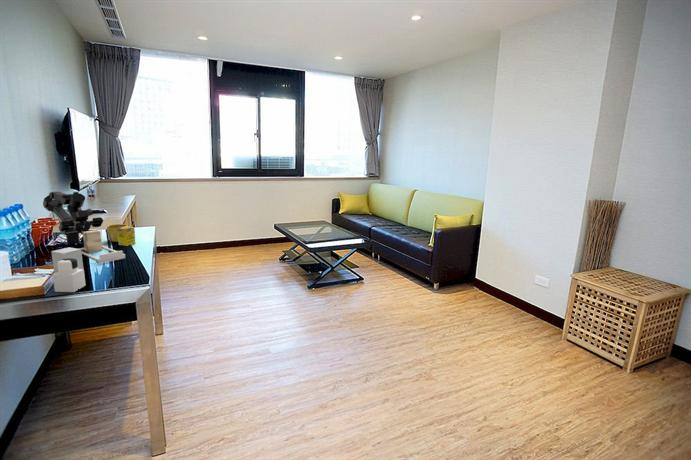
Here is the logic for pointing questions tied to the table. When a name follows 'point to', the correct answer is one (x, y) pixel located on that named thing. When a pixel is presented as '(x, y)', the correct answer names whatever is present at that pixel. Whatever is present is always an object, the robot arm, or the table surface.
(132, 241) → the supplement box
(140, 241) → the table surface
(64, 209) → the robot arm
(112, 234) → the plant pot
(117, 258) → the tray
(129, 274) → the table surface
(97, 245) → the birch block
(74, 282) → the white stepped block
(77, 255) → the supplement box
